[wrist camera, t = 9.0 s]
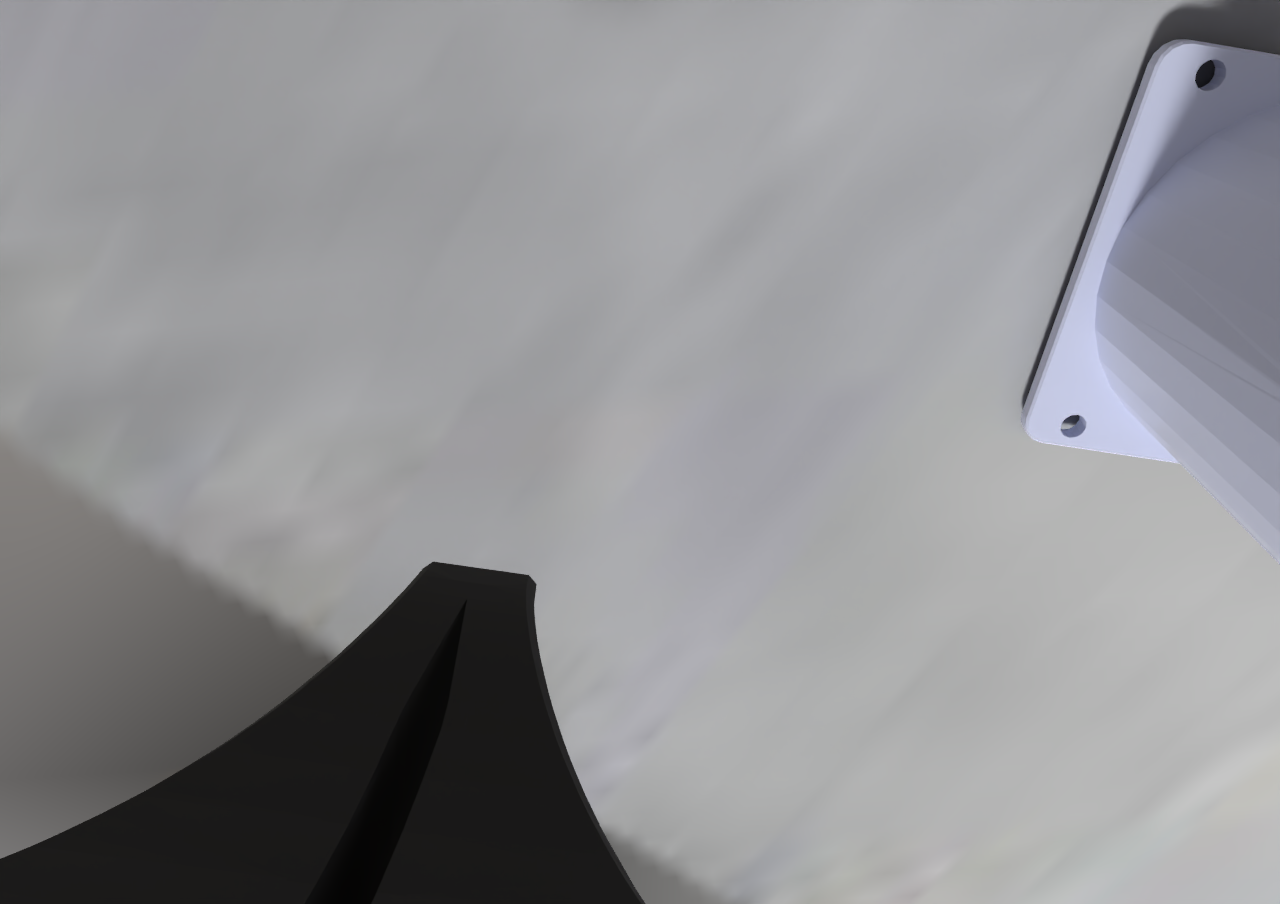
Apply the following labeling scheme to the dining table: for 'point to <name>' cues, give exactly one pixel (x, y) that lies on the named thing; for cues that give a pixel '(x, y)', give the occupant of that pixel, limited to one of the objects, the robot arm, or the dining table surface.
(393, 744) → the robot arm
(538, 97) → the dining table surface
